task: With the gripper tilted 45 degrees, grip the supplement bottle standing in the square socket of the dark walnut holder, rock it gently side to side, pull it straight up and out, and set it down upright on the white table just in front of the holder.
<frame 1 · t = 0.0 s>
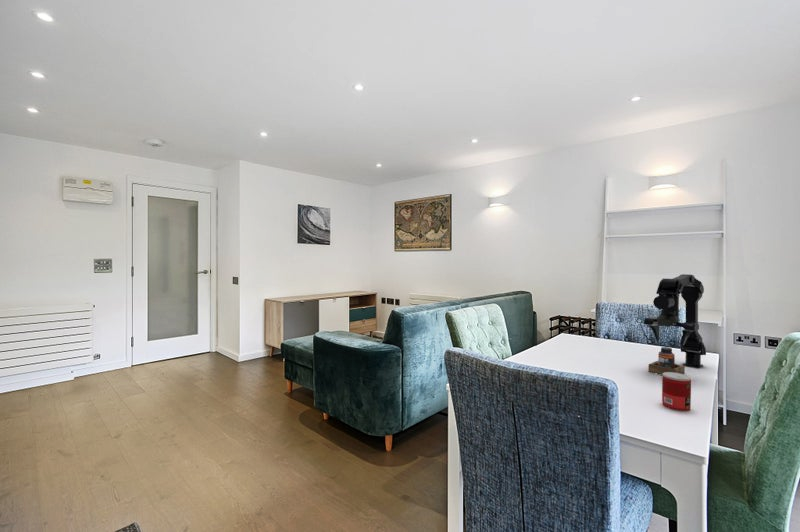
hand: (669, 343, 160), 15 cm above the table, tool pointing down, fingers open, 9 cm apart
canned food: (676, 407, 128), on the table
supplement bottle: (666, 373, 165), resting in walnut socket holder
walnut socket holder: (666, 372, 165), on the table
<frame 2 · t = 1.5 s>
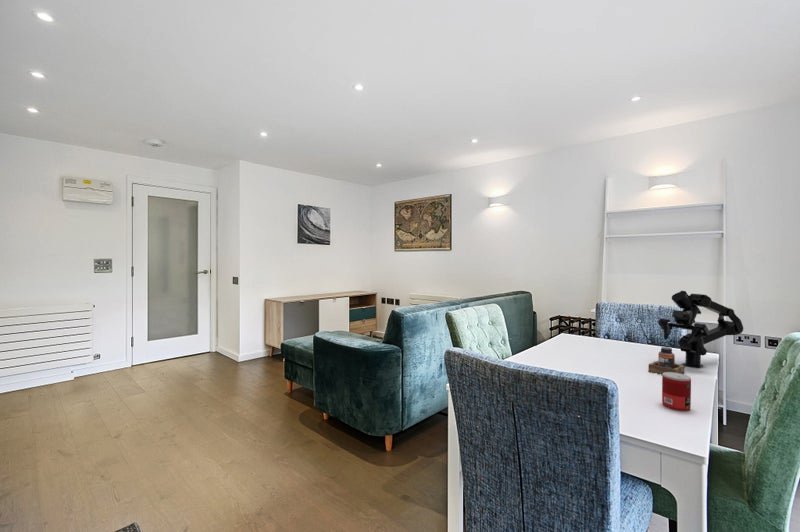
hand: (676, 340, 169), 14 cm above the table, tool tilted 45°, fingers open, 9 cm apart
nothing on the table moved.
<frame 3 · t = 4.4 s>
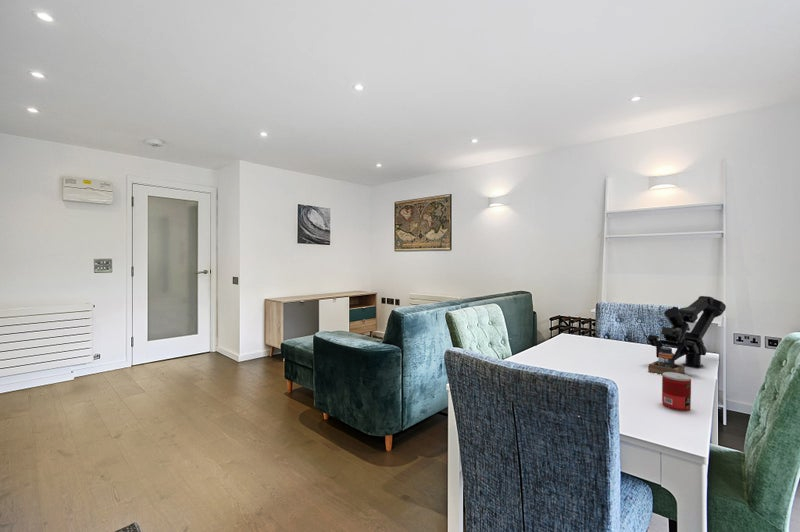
hand: (664, 358, 165), 7 cm above the table, tool tilted 45°, fingers closed on supplement bottle, 6 cm apart
supplement bottle: (666, 373, 165), resting in walnut socket holder, touching gripper
everything else where it was.
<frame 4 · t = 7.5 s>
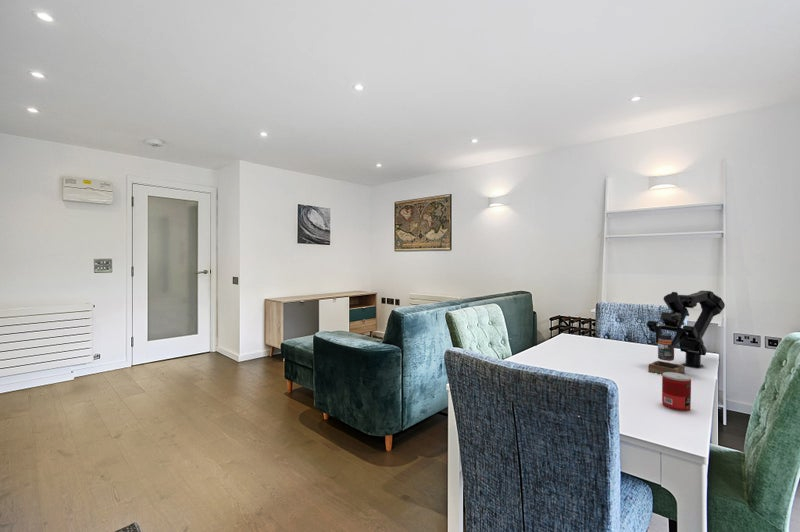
hand: (664, 343, 164), 13 cm above the table, tool tilted 45°, fingers closed on supplement bottle, 6 cm apart
supplement bottle: (665, 359, 165), point 6 cm above the table, touching gripper
everything else where it was.
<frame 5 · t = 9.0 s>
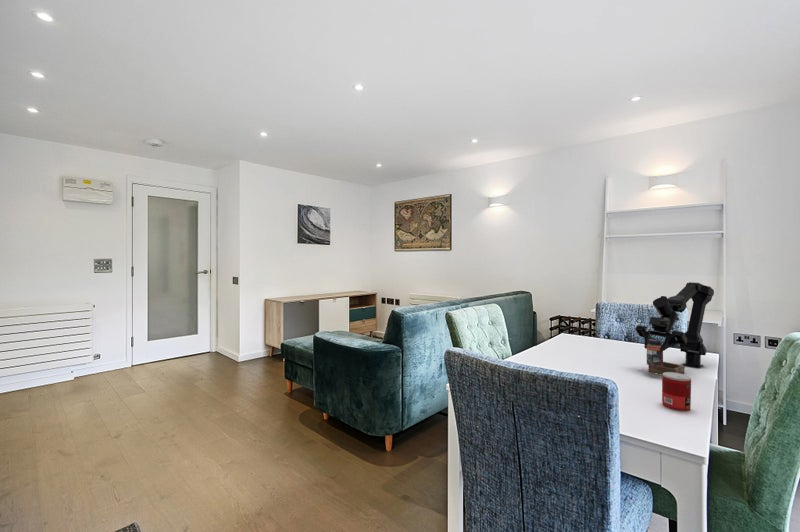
hand: (652, 349, 159), 12 cm above the table, tool tilted 45°, fingers closed on supplement bottle, 6 cm apart
supplement bottle: (654, 366, 160), point 5 cm above the table, touching gripper
everything else where it was.
when the fingers open (8 cm above the table, at t = 10.3 s): supplement bottle stays where it is, on the table.
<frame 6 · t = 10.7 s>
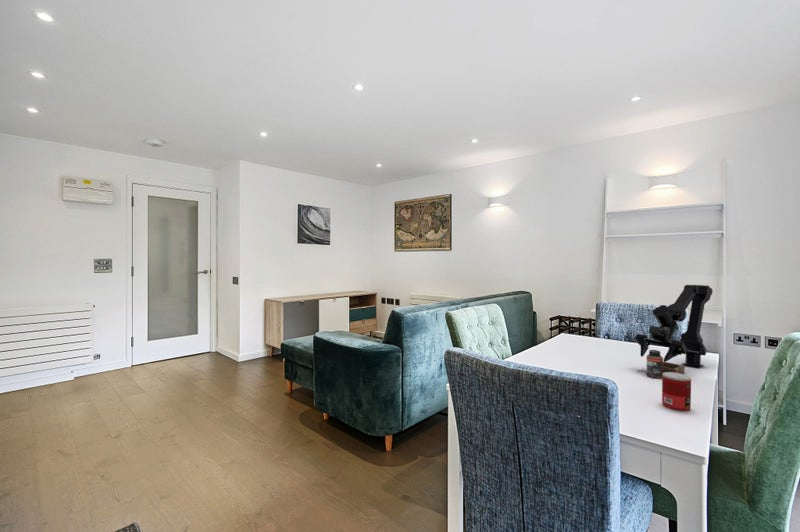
hand: (652, 358, 159), 8 cm above the table, tool tilted 45°, fingers open, 9 cm apart
supplement bottle: (654, 377, 160), on the table
everything else where it was.
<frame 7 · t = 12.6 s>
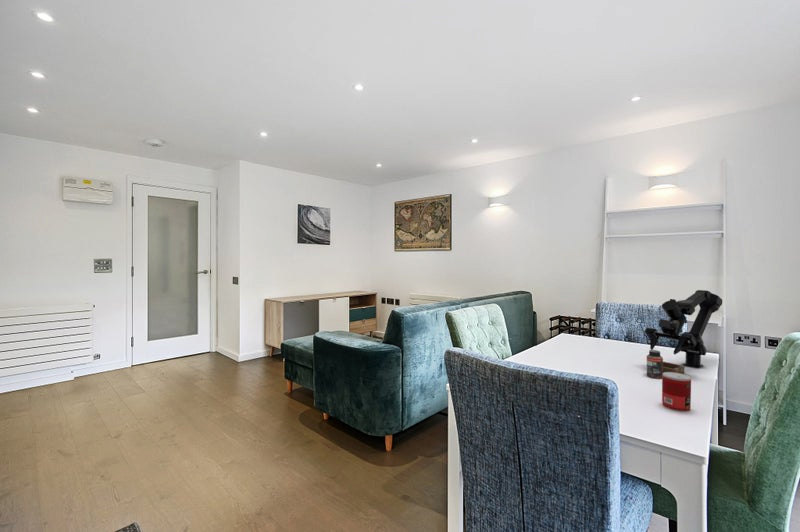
hand: (662, 351, 163), 10 cm above the table, tool tilted 45°, fingers open, 9 cm apart
nothing on the table moved.
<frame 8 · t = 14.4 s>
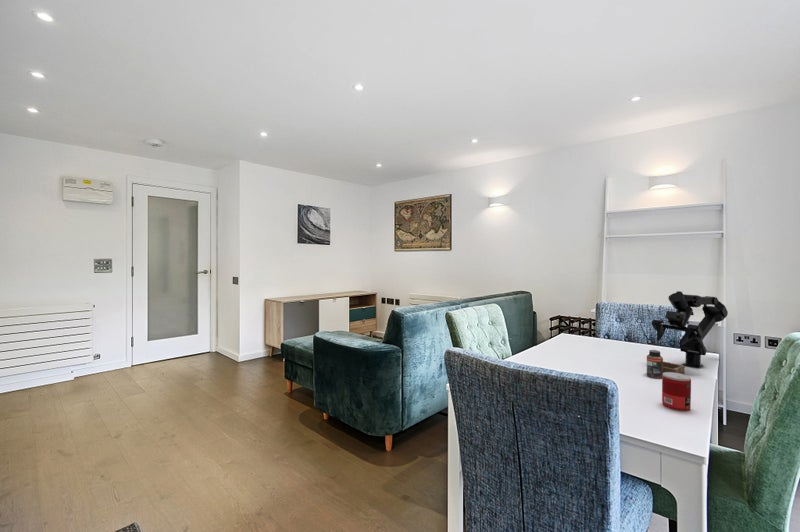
hand: (669, 342, 166), 14 cm above the table, tool tilted 45°, fingers open, 9 cm apart
nothing on the table moved.
at the end: supplement bottle 0.3 cm from the target spot, on the table; supplement bottle tilted 0°; the gripper is holding nothing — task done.
